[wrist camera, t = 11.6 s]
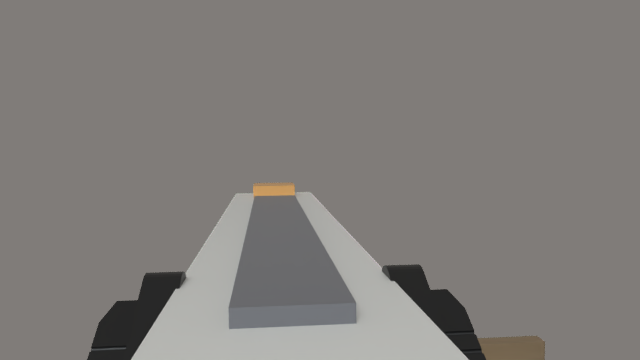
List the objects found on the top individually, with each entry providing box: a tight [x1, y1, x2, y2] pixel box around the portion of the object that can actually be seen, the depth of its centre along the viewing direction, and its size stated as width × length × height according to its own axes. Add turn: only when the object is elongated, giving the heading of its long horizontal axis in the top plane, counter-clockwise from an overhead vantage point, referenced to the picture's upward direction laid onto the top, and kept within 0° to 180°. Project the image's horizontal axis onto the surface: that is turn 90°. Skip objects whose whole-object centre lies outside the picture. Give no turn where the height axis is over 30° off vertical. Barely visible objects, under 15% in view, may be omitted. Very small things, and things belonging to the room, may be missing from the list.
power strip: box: [131, 183, 469, 360], centre depth 17 cm, size 25×4×5 cm, turn 6°
